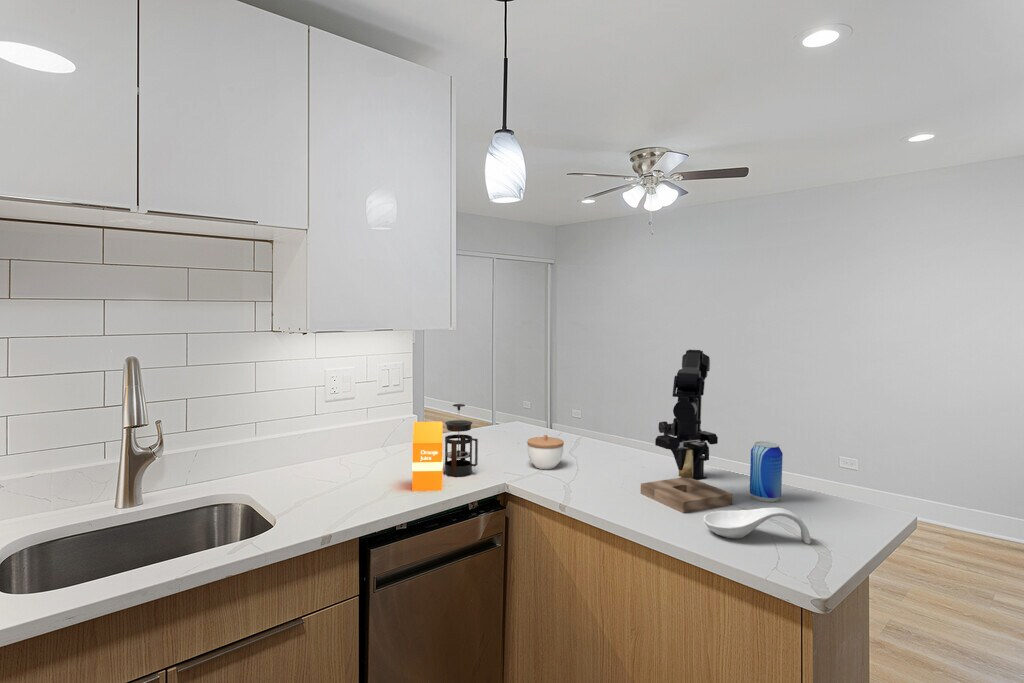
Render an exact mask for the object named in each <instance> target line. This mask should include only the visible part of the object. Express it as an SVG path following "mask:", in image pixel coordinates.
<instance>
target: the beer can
mask: <svg viewBox="0 0 1024 683" xmlns="http://www.w3.org/2000/svg"><path fill="white" fill-rule="evenodd" d="M752 446H753V447H752V448H751V450H750V465H749V466H750V469H749V493H750V495H751V497H752V498H753V499H754V498H755V499H754V500H756V499H757V501H759V500H761V501H760V502H764V501H766V502H765V503H774V502H775V501H776V502H778V501H779V500H780V498H781V497H782V484H783V483H782V482H783V480H782V479H783V451H782V449H781V448H780V444H778V443H776V442H771V441H755V442H754V445H752ZM776 502H775V503H776Z"/></svg>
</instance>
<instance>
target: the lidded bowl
mask: <svg viewBox="0 0 1024 683" xmlns="http://www.w3.org/2000/svg"><path fill="white" fill-rule="evenodd" d="M526 442H527V443H526V444H527V454H528V458H529V460H530V462H531V463H532V465H533V466H534V467H535V468H536V469H538V468H539V470H552V468H553V469H555V468H556V466H558V464H559V463H560V462H561V460H562V458H563V454H564V444H565V442H564V440H563V439H561V438H557V437H553V436H548V434H544V435H543V436H537V437H530V438H529V439H527V441H526Z"/></svg>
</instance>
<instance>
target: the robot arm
mask: <svg viewBox="0 0 1024 683" xmlns="http://www.w3.org/2000/svg"><path fill="white" fill-rule="evenodd" d="M681 359H682V360H681V369H680V368H679V369H678V371H677V374H676V375H674V378H673V389H672V396H671V397H673V398H677V402H676V403H675V405H674V406H673V409H672V412H673V416H674V418H673V421H672V423H668V422H667V421H659V422H658V431H659V433H660V435H657V436H656V438H655V442H654V445H655V446H656V447H660V448H663V449H666V450H670V451H671V453H672V454H673V458H674V460H675V463H676V466H677V469H678V471H679V470H682V469H683V465H684V460H685V455H686V451H687V449H686V448H683V447H689V448H693V449H694V458H693V477H692V479H695V480H702V479H701V478H703V479H707V478H708V476H707V475H705V472H704V470H705V465H704V464H705V462H707V461H709V460H710V446H709V445H718V441H719V438H718V436H717V434H716V433H714V432H710V431H706V430H702V428H701V424H702V396H704V394H705V383H706V382H705V380H706V379H707V377H708V372H710V370H711V368H710V367H711V360H710V359H711V358H710V356H709V355H707V354H706V353H704V352H703V350H701V349H687V350H686V351H685V353H684V354H683V355H682V358H681ZM661 434H662V435H661ZM708 444H709V445H708Z"/></svg>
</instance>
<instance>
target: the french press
mask: <svg viewBox="0 0 1024 683" xmlns="http://www.w3.org/2000/svg"><path fill="white" fill-rule="evenodd" d="M452 406H453V407H456V409H457V414H458V415H457V419H458V420H457V419H454V420H448V421H445V422H444V425H446V429H447V431H448V432H455V433H457V434H449V435H446V436H445V437H444V443H445V444H444V471H443V474H444V476H447V477H450V478H451V477H452V478H464V477H468V476H471V475H472V474H473V467H477V466H478V461H479V460H478V458H479V456H478V453H479V452H478V451H479V449H478V446H479V439H478V438H473V436H472V435H469V434H460V432H468V431H471V429H472V425H473V422H472V421H471V420H464V419H460V411H461V407H465V406H466V404H464V403H455V404H452ZM473 441H475V442H474V445H475V448H474V463H473ZM448 444H449V445H451V448H450V449H451V450H450V451H449V450H448V448H449V447H448ZM466 444H469V451H466ZM448 451H449V452H448ZM468 458H469V460H466V459H468ZM448 459H451V460H448Z"/></svg>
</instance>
